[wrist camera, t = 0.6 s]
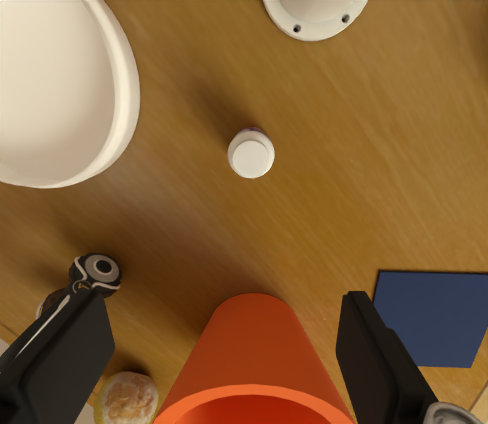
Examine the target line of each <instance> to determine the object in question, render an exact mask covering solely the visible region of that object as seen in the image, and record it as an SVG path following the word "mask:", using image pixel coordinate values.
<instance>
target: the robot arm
mask: <svg viewBox="0 0 488 424" xmlns="http://www.w3.org/2000/svg"><path fill="white" fill-rule="evenodd" d="M367 1H368V0H263V3H264V6H265V9H266V11H267V12H268V14H269V16H270V18H271V20H272V21H273V22H274V23H275V24H276V26H277V27H278V28H279V29H281V30H282V31H283V32H284V33H286V34H287V35H289V36H291V37H293V38H295V39H299V40H303V41H319V40H324V39H327V38H329V37H332V36H334V35H336V34H337V33H339V32H341V31H342V30H344V29H345V28H346V27H347V26H349V25H350V24H351V23H352V22H353V21H354V19H355V18H356V17H357V16H358V15H359V14H360V12H361V11H362V9H363V8H364V6H365V5H366V3H367ZM342 18H344V19H345V22H344V23H343V22H342ZM294 28H297V29H298V32H294ZM114 349H115V343H114V339H113V335H112V331H111V327H110V323H109V319H108V314H107V310H106V306H105V302H104V298H103V295H102V293H99V291H98V290H97V289H80V290H79V291H78V292H77V293H76V294H75V295H74V296H73V297H72V298H71V299H70V300H69V301H68V302H67V303H66V304H65V305H64V306H63V308H62V309H61V310H60V311H59V312H58V313H57V314H56V315H55V316H54V317H53V318H52V319H51V320H50V321H49V322H48V323H47V325H46V326H45V327H44V328H43V329H42V330H41V331H40V332H39V333H38V334H37V335H36V336H35V337H34V338H33V339H32V340H31V342H30V343H29V344H28V345H27V346H26V347H25V348H24V349H23V350H22V351H21V352H20V353H19V354H18V355H17V356H16V357H15V359H14V360H13V361H12V362H11V363H10V364H9V365H8V366H7V367H6V368H5V369H4V370H3V371H2V372H1V373H0V424H74V423H75V421H76V419H77V417H78V415H79V414H80V412H81V410H82V409H83V407H84V405H85V403H86V401H87V400H88V398H89V396H90V394H91V393H92V391H93V389H94V387H95V385H96V384H97V382H98V380H99V378H100V377H101V375H102V373H103V371H104V369H105V368H106V366H107V364H108V362H109V361H110V359H111V357H112V355H113V353H114ZM336 357H337V360H338V363H339V366H340V369H341V372H342V375H343V379H344V382H345V385H346V388H347V391H348V394H349V397H350V400H351V403H352V406H353V409H354V412H355V415H356V418H357V421H358V424H483V423H482V422H481V421H480V420H479V419H477V418H476V417H475V416H474V415H473V414H471V413H470V412H468V411H467V410H465V409H464V408H462V407H459V406H457V405H455V404H452V403H447V402H439V401H438V399H437V398H436V396H435V394H434V393H433V391H432V390H431V388H430V386H429V385H428V383H427V382H426V380H425V378H424V377H423V375H422V374H421V372H420V370H419V369H418V367H417V366H416V364H415V362H414V361H413V359H412V357H411V356H410V354H409V353H408V351H407V349H406V348H405V346H404V345H403V343H402V341H401V340H400V338H399V337H398V335H397V333H396V332H395V331H394V330H393V329H391V328H387V327H386V325H385V323H384V322H383V320H382V318H381V317H380V315H379V313H378V312H377V310H376V308H375V307H374V305H373V303H372V302H371V300H370V298H369V297H368V295H367V293H366V292H365V291H349V292H348V294H347V295H343V299H342V306H341V313H340V320H339V328H338V335H337V342H336Z"/></svg>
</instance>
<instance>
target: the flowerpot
mask: <svg viewBox="0 0 488 424" xmlns="http://www.w3.org/2000/svg"><path fill="white" fill-rule="evenodd" d="M152 424H355V422H354V420H353V418H352V416H351V415H350V413H349V411H348V409H347V407H346V406H345V404H344V402H343V400H342V398H341V396H340V395H339V393H338V391H337V389H336V387H335V386H334V384H333V382H332V380H331V378H330V376H329V375H328V373H327V371H326V369H325V367H324V366H323V364H322V362H321V360H320V358H319V357H318V355H317V353H316V351H315V349H314V347H313V346H312V344H311V342H310V340H309V338H308V337H307V335H306V333H305V331H304V329H303V327H302V326H301V324H300V322H299V320H298V318H297V317H296V315H295V313H294V311H293V310H292V309H291V308H290V307H289V306H288V305H287V304H286V303H284V302H283V301H282V300H280V299H278V298H276V297H273V296H270V295H266V294H261V293H245V294H241V295H236V296H234V297H232V298H229V299H227V300H226V301H224V302H223V303H222V304H220V306H219V307H218V308H217V309H216V310H215V312H214V313H213V315H212V317H211V318H210V320H209V322H208V324H207V326H206V327H205V329H204V331H203V333H202V335H201V336H200V338H199V340H198V342H197V344H196V345H195V347H194V349H193V351H192V353H191V354H190V356H189V358H188V360H187V362H186V363H185V365H184V367H183V369H182V371H181V372H180V374H179V376H178V378H177V380H176V381H175V383H174V385H173V387H172V389H171V390H170V392H169V394H168V396H167V398H166V399H165V401H164V403H163V405H162V407H161V408H160V410H159V412H158V414H157V416H156V417H155V419H154V421H153V423H152Z"/></svg>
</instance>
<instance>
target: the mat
mask: <svg viewBox="0 0 488 424" xmlns="http://www.w3.org/2000/svg"><path fill="white" fill-rule="evenodd" d="M373 305H374V307H375V308H376V310H377V312H378V313H379V315H380V317H381V318H382V320H383V322H384V323H385V325H386V327H387V328H391V329H393V330H394V331H395V332H396V333H397V335H398V337H399V338H400V340H401V341H402V343H403V345H404V346H405V348H406V349H407V351H408V353H409V354H410V356H411V357H412V359H413V361H414V362H415V364H416V366H429V367H458V368H471V366H472V363H473V361H474V358H475V356H476V354H477V351H478V349H479V347H480V344H481V342H482V339H483V337H484V335H485V332H486V330H487V327H488V274H481V273H442V272H402V271H379V275H378V280H377V285H376V289H375V294H374V298H373Z"/></svg>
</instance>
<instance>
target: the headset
mask: <svg viewBox="0 0 488 424" xmlns="http://www.w3.org/2000/svg"><path fill="white" fill-rule="evenodd" d="M74 261H75V262H74V263H73V264H72V266H71V267H70V268H69V282H70V284H69V285H68V286H67V288H63V289H60V290H56V291H54V292H53V293H51V294H49V295H48V297H47V298H46V299H45V300H43V301H42V302H41V303H40V305H39V306H38V309H37V313H36V321H35V322H34V323H33V324H31V325H30V326H29V327H28V328H27V329H26V330H25V331H24V332H23V333H22V334H21V335H20V336H19V337H18V338H17V339H16V340H15V341H14V342H13V343H12V344H11V346H10V347H9V348H8V349H7V350H6V351H5V352H4V353H3V354H2V355H1V357H0V372H2V371H3V370H4V369H5V368H6V367H7V366H8V365H9V364H10V363H11V362H12V361H13V360H14V359H15V357H16V356H17V355H18V354H19V353H20V352H21V351H22V350H23V349H24V348H25V347H26V346H27V345H28V344H29V343H30V342H31V340H32V339H33V338H34V337H35V336H36V335H37V334H38V333H39V332H40V331H41V330H42V329H43V328H44V327H45V326H46V325H47V323H48V322H49V321H50V320H51V319H52V318H53V317H54V316H55V315H56V314H57V313H58V312H59V311H60V310H61V309H62V308H63V306H64V305H65V304H66V303H67V302H68V301H69V300H70V299H71V298H72V297H73V296H74V295H75V294H76V293H77V292H78V291H79V290H80V289H97V290H98V291H99V293H102V295H103V298H106V297H109V296H111V295H112V294H113V293H115V292H116V291H117V289H119V288H120V283H121V282H120V280H121V278H122V271H121V269H120V267H119V265H118V264H117V263H116V262H115V261H114V260H113V259H112V258H110V257H109V256H106V255H104V254H100V253H89V254H87V255H85V256H81V257H76V258H75V259H74ZM42 305H43V309H42V313H41V316H40V317H39V313H40V309H41V306H42Z"/></svg>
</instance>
